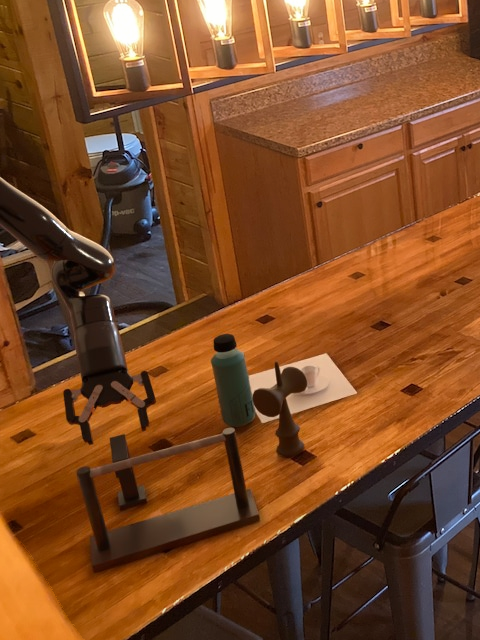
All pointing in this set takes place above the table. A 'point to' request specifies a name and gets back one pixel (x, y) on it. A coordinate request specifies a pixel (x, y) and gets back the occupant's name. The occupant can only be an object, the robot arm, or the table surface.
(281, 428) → the kendama
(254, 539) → the table surface
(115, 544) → the rail stand
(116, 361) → the robot arm
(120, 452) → the hook hanger
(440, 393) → the table surface
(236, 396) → the beverage bottle
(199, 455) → the table surface
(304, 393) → the teacup and saucer
